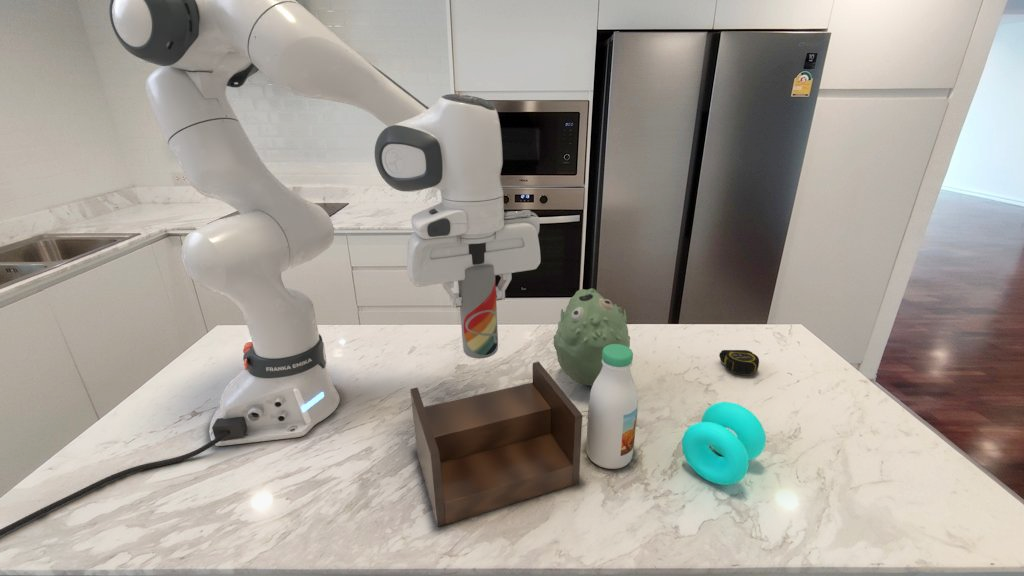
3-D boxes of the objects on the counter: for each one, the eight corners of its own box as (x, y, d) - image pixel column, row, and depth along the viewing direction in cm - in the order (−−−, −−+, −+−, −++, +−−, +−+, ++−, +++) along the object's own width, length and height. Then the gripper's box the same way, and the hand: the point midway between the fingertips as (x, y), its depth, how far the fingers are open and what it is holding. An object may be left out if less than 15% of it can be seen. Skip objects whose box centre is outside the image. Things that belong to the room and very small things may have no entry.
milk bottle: (604, 477, 76) (613, 368, 68) (576, 447, 82) (582, 345, 75) (642, 460, 79) (654, 355, 72) (612, 433, 86) (621, 334, 78)
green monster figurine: (618, 356, 110) (625, 275, 102) (636, 406, 93) (646, 313, 85) (550, 356, 110) (552, 275, 103) (555, 406, 93) (557, 313, 85)
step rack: (437, 527, 68) (430, 454, 63) (417, 453, 81) (409, 388, 76) (578, 483, 75) (582, 414, 70) (538, 422, 89) (538, 361, 84)
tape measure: (749, 362, 107) (752, 347, 106) (762, 379, 101) (765, 363, 99) (717, 361, 108) (720, 346, 106) (729, 378, 101) (731, 363, 100)
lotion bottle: (493, 361, 75) (487, 238, 67) (458, 357, 76) (449, 236, 68) (501, 343, 80) (497, 226, 72) (469, 340, 81) (461, 225, 73)
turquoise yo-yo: (762, 465, 78) (774, 415, 74) (737, 501, 71) (749, 447, 67) (702, 437, 84) (710, 389, 81) (675, 467, 78) (682, 416, 74)
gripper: (531, 204, 75) (531, 285, 81) (400, 217, 69) (409, 305, 74) (548, 212, 70) (546, 299, 75) (407, 228, 63) (417, 322, 69)
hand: (477, 302), depth 75 cm, fingers closed on lotion bottle, 5 cm apart
